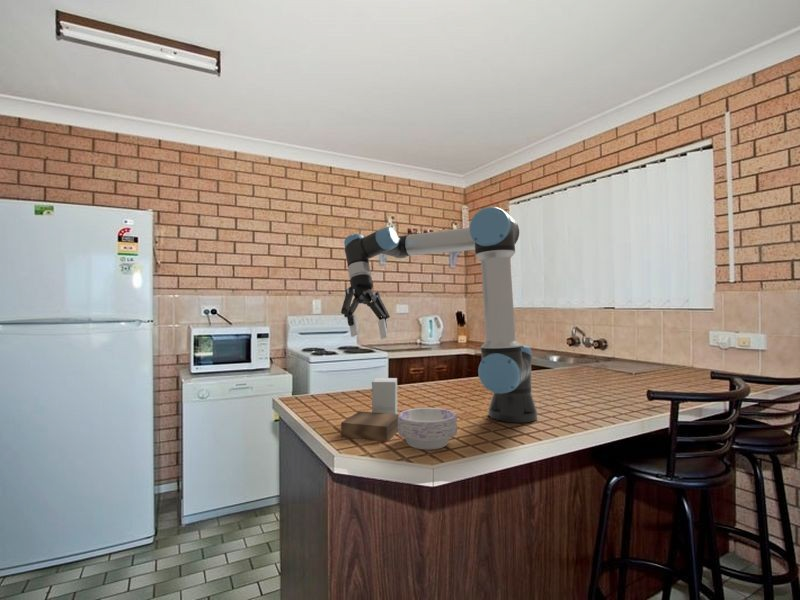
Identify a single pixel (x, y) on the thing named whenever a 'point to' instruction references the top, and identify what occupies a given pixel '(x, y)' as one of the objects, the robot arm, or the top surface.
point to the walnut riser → (370, 426)
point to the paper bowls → (427, 427)
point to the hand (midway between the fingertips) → (370, 336)
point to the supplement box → (384, 395)
